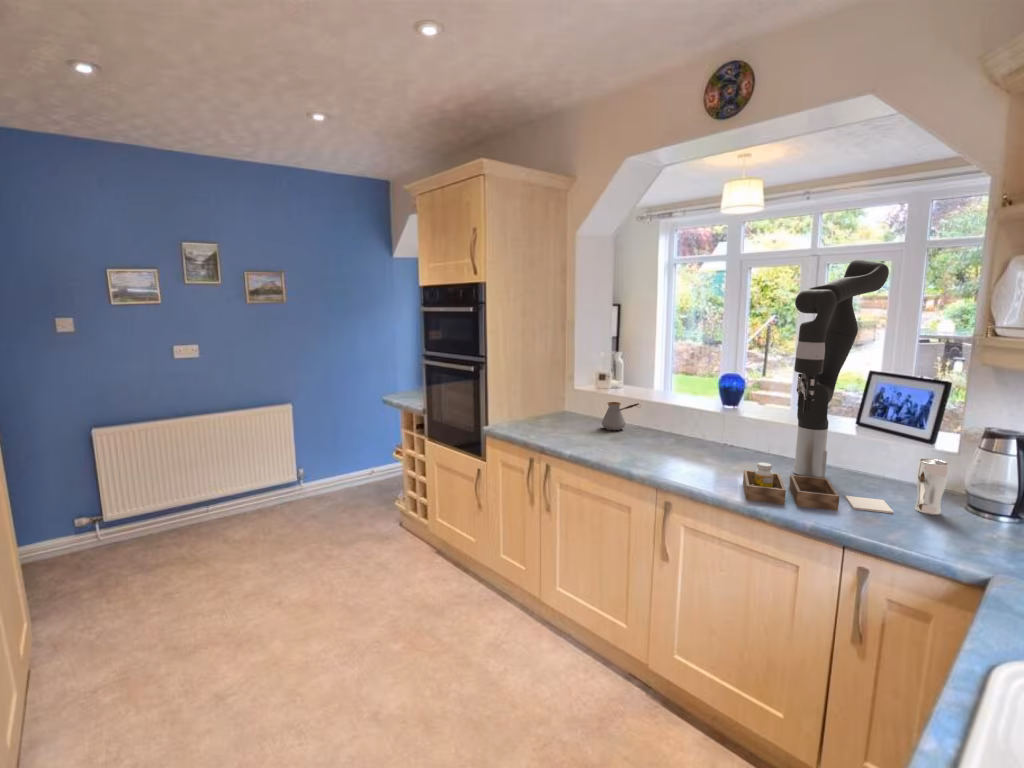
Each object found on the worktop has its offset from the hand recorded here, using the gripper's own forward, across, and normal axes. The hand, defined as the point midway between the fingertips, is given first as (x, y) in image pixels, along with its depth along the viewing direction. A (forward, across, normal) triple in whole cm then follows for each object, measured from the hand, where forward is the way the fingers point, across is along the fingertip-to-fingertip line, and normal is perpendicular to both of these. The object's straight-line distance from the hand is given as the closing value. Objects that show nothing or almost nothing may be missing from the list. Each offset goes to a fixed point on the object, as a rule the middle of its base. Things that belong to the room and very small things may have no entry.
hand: (804, 409), depth 161 cm
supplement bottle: (+28, +1, +9) cm, 30 cm away
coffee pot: (+30, +72, +62) cm, 99 cm away
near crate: (+28, 0, -5) cm, 28 cm away
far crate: (+28, +1, +9) cm, 30 cm away
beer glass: (+28, 0, -35) cm, 44 cm away
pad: (+28, -1, -20) cm, 34 cm away
